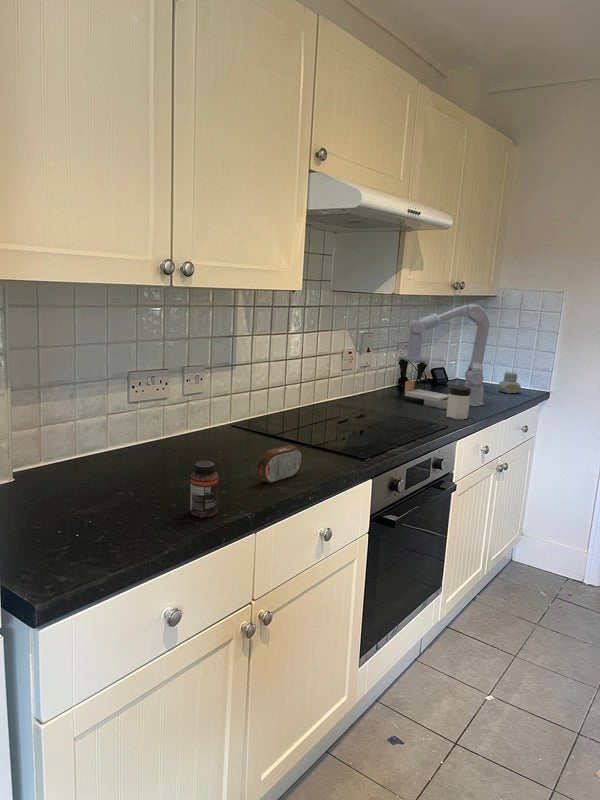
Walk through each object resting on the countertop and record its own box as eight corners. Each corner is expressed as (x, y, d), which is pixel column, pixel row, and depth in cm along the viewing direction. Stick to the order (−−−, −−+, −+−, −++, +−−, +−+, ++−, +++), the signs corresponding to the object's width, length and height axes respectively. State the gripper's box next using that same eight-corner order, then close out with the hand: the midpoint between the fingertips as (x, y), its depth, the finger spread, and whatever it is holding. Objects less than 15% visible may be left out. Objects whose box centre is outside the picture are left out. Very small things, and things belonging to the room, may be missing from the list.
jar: (465, 420, 236) (469, 390, 233) (444, 417, 239) (448, 388, 236) (469, 416, 244) (472, 387, 241) (448, 413, 247) (452, 384, 244)
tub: (434, 402, 268) (435, 394, 267) (468, 409, 258) (469, 401, 257) (423, 405, 261) (424, 397, 260) (458, 412, 251) (458, 404, 250)
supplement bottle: (203, 505, 136) (205, 457, 133) (223, 513, 132) (225, 463, 130) (184, 513, 131) (185, 463, 129) (203, 521, 127) (205, 469, 125)
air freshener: (500, 393, 300) (503, 374, 298) (495, 390, 308) (497, 371, 306) (522, 395, 300) (524, 375, 298) (516, 391, 308) (518, 372, 306)
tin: (295, 472, 163) (296, 441, 161) (303, 475, 161) (305, 444, 159) (255, 484, 152) (256, 452, 150) (264, 487, 150) (265, 455, 148)
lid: (413, 391, 275) (414, 379, 274) (451, 399, 264) (452, 386, 262) (400, 394, 267) (401, 382, 266) (439, 402, 255) (440, 389, 254)
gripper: (395, 346, 267) (392, 376, 270) (424, 350, 258) (421, 381, 261) (403, 345, 273) (400, 375, 276) (432, 349, 264) (429, 380, 266)
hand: (411, 378), depth 269 cm, fingers open, 7 cm apart
